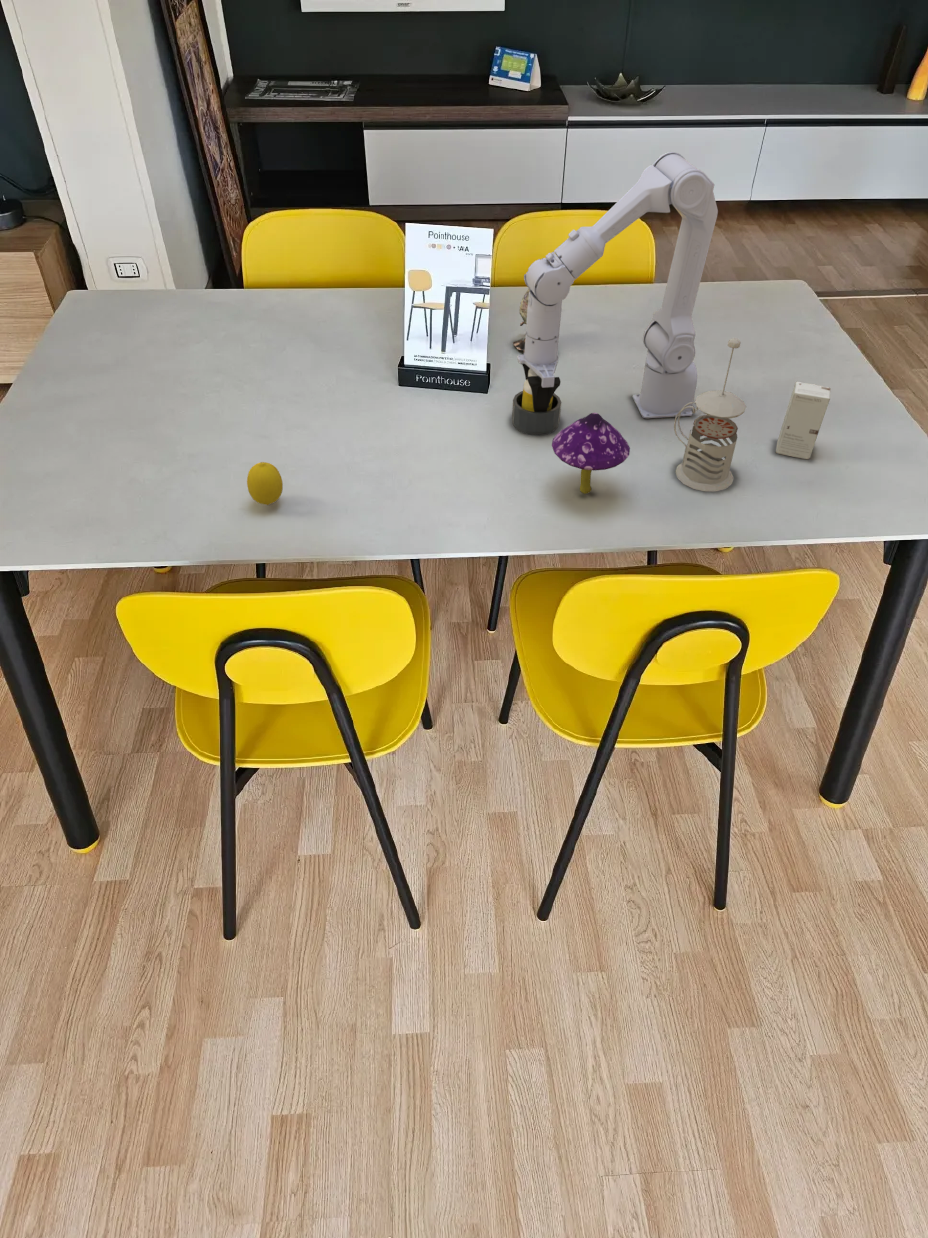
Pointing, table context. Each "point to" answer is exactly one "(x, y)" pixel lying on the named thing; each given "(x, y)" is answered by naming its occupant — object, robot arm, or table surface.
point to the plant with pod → (523, 312)
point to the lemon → (264, 483)
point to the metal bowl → (535, 417)
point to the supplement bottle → (530, 394)
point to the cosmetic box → (803, 420)
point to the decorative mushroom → (590, 447)
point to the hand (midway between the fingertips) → (536, 403)
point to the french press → (711, 438)
